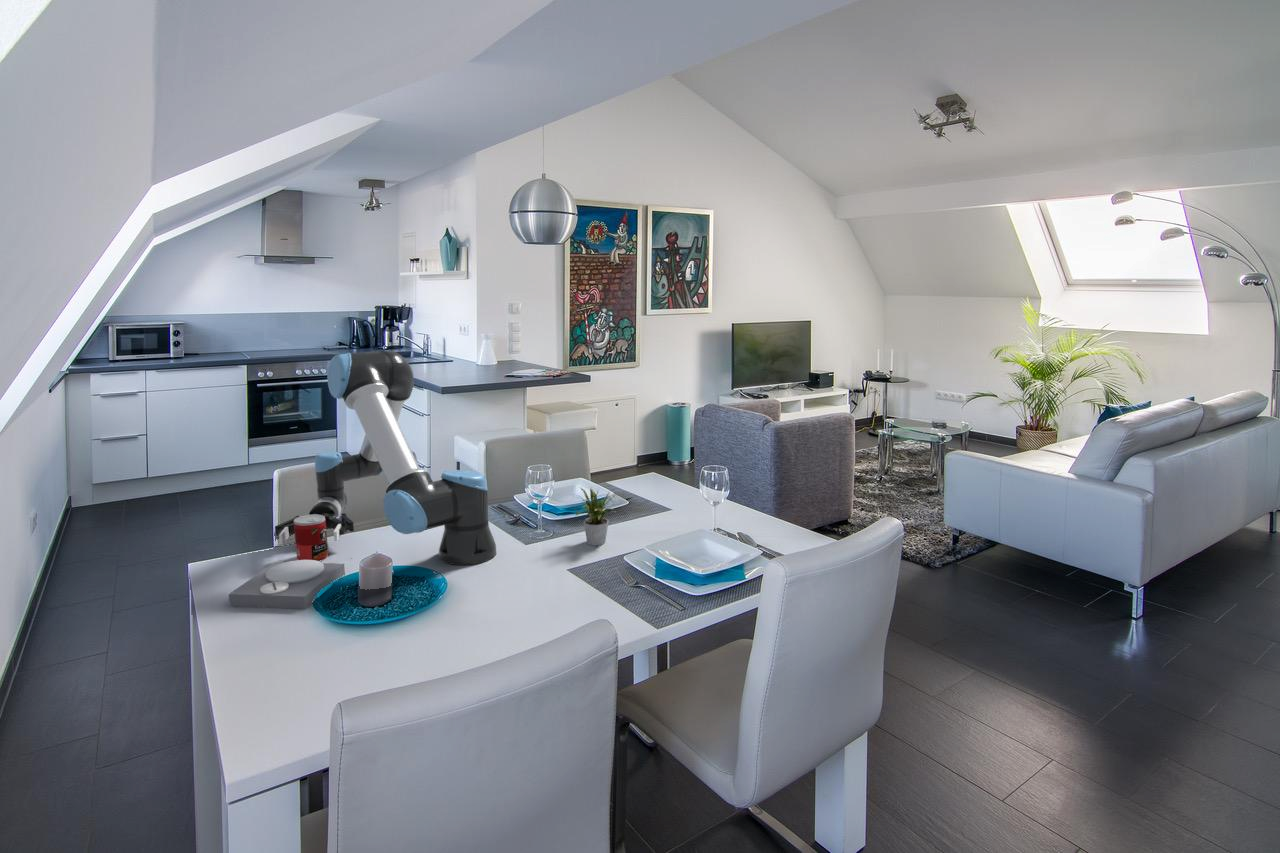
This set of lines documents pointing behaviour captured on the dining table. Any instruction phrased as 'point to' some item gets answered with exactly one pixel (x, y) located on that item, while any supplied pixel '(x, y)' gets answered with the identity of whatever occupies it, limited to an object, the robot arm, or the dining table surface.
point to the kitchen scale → (286, 584)
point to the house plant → (595, 519)
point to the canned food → (311, 537)
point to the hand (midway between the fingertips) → (308, 538)
